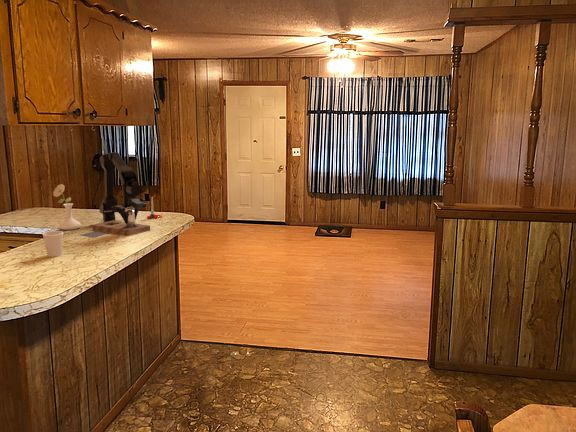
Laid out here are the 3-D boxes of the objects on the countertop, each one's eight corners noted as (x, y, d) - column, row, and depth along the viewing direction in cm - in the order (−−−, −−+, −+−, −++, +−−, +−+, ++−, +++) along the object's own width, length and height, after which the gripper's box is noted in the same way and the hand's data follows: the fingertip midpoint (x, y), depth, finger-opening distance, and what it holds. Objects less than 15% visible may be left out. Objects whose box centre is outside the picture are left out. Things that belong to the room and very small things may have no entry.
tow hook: (151, 216, 300) (145, 218, 291) (151, 195, 298) (144, 197, 289) (164, 216, 299) (158, 219, 290) (164, 196, 297) (158, 197, 288)
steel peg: (123, 228, 254) (122, 210, 252) (130, 227, 258) (129, 208, 256) (130, 229, 252) (129, 211, 250) (137, 228, 256) (136, 209, 254)
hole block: (92, 230, 260) (92, 224, 259) (113, 225, 272) (113, 220, 271) (130, 236, 246) (129, 230, 246) (150, 231, 258) (150, 225, 258)
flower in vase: (74, 225, 270) (70, 181, 265) (86, 228, 264) (82, 183, 259) (51, 230, 260) (47, 183, 255) (63, 233, 253) (59, 185, 248)
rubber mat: (78, 236, 247) (78, 235, 247) (96, 231, 256) (96, 230, 256) (93, 238, 241) (93, 237, 241) (110, 234, 251) (110, 233, 251)
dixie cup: (59, 251, 218) (57, 229, 216) (68, 254, 213) (67, 232, 211) (40, 255, 212) (38, 233, 210) (49, 258, 206) (47, 236, 204)
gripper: (125, 197, 240) (127, 228, 243) (153, 192, 256) (154, 221, 259) (109, 195, 245) (112, 225, 248) (137, 190, 261) (139, 219, 264)
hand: (130, 222), depth 255 cm, fingers closed on steel peg, 5 cm apart
